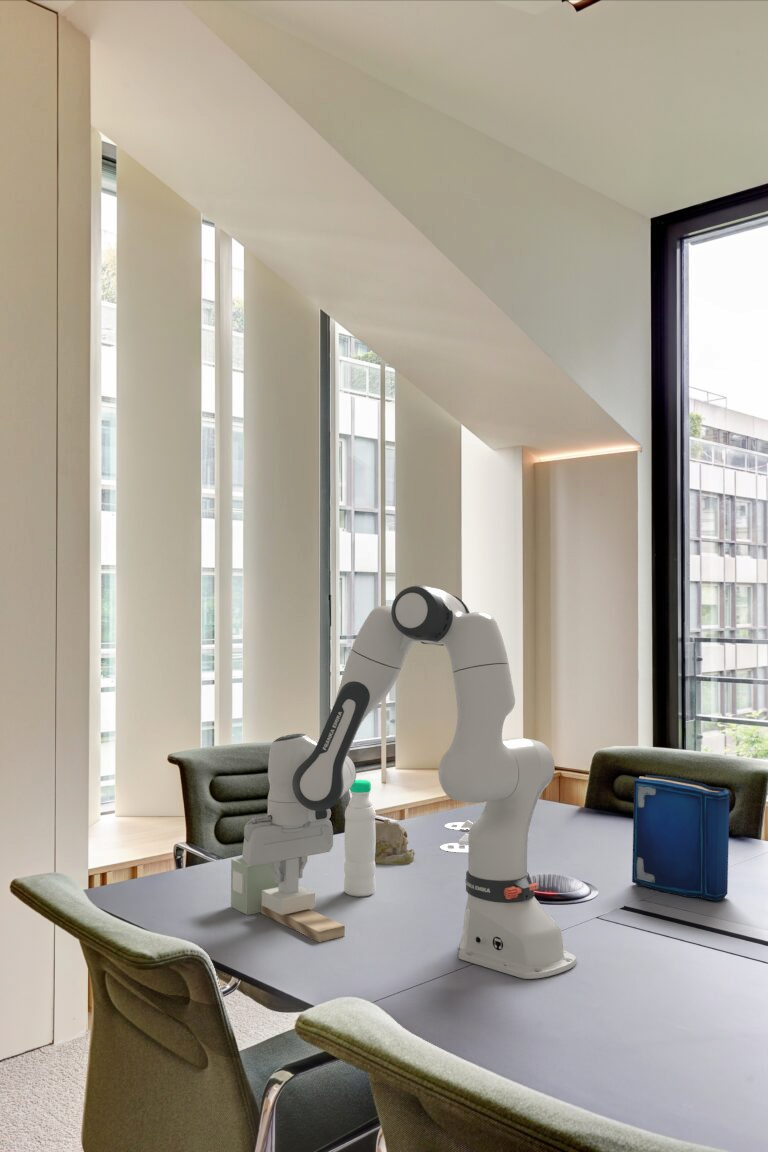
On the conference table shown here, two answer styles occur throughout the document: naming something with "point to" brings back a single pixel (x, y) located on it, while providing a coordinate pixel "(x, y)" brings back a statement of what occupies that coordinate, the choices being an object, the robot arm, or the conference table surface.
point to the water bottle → (360, 842)
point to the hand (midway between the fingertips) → (288, 880)
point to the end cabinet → (249, 885)
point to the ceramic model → (391, 844)
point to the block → (308, 923)
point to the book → (680, 837)
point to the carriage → (288, 891)
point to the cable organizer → (465, 838)
